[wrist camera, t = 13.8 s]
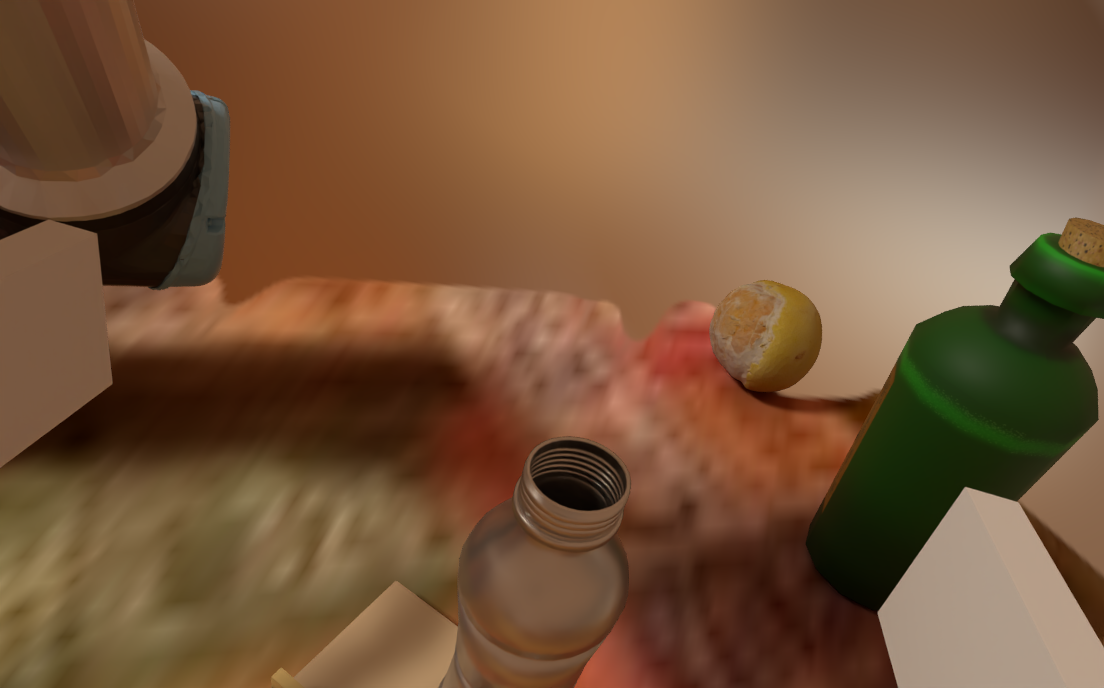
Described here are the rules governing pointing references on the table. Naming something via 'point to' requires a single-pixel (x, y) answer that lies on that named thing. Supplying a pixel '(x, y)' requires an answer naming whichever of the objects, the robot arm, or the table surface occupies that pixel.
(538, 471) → the plastic bottle
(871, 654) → the table surface
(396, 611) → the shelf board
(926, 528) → the bottle
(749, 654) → the table surface
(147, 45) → the robot arm
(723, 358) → the fruit
